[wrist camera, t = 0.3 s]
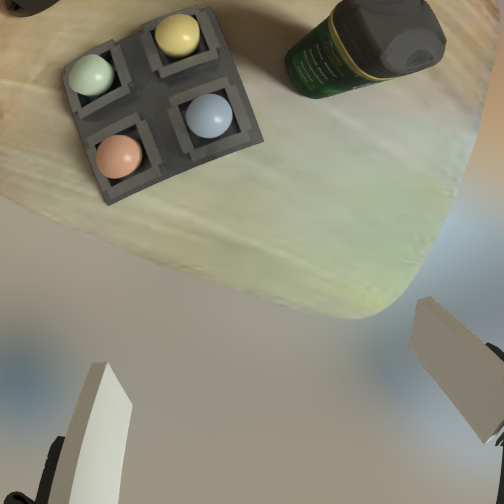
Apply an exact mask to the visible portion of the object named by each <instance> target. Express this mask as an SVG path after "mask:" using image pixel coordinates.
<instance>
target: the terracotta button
mask: <svg viewBox="0 0 504 504" xmlns="http://www.w3.org/2000/svg"><path fill="white" fill-rule="evenodd" d="M142 158H143V151H142V147H141V145H140V143H139V142H138V141H137V140H136V139H135V138H133V137H131V136H125V135H113V136H110V137H108V138H106V139H105V140H103V141H102V143H101V144H100V145H99V147H98V149H97V152H96V164H97V167H98V169H99V170H100V172H101V173H102V174H103V175H105V176H106V177H109V178H121V177H123V176H126V175H128V174H131V173H133V172H134V171H135V170H136V169H137V168H138V167H139V166H140V164H141V162H142Z"/></svg>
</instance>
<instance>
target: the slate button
mask: <svg viewBox="0 0 504 504" xmlns="http://www.w3.org/2000/svg"><path fill="white" fill-rule="evenodd" d="M186 120H187V124H188V126H189V128H190V129H191V130H192V131H193V132H194V133H195V134H196V135H198V136H200V137H202V138H215V137H218V136H220V135H221V134H223V133H224V132H225V131H226V130H227V128H228V127H229V125H230V123H231V121H232V109H231V107H230V105H229V103H228V102H227V101H226V100H225V99H224V98H222V97H221V96H219V95H215V94H205V95H201V96H199V97H197V98H196V99H194V100H193V101H192V102H191V104H190V105H189V107H188V109H187V113H186Z"/></svg>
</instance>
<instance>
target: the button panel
mask: <svg viewBox="0 0 504 504" xmlns="http://www.w3.org/2000/svg"><path fill="white" fill-rule="evenodd" d="M176 14H185V15H188V16H191V17H192V18H194V19H195V20H196V21H197V23H198V26H199V34H200V42H199V45H198V47H197V49H196V50H195V51H194V52H193V53H191V54H190V55H188V56H186V57H182V58H172V57H169V56H167V55H165V54H164V53H163V52H162V50H161V49H160V47H159V45H158V43H157V41H156V38H155V31H156V28H157V26H158V25H159V24H160V22H161V21H163V20H164V19H165V18H167V17H169V16H172V15H176ZM142 27H143V30H142V31H140V32H138V33H135V34H133V35H131V36H129V37H127V38H124V39H122V40H120V41H118V42H115V41H114V40H113V39H111V40H109V41H107V42H105V43H103V44H102V45H100V46H98V47H96V48H94V49H92V50H91V51H89V52H87V53H85V54H84V55H82V56H80V57H79V58H77V59H75V60H74V61H72V62H70V63H69V64H67V65H66V66H64V67H65V72H63V73H62V74H61V76H62V79H63V83H64V87H65V90H66V93H67V97H68V100H69V103H70V107H71V110H72V113H73V116H74V119H75V122H76V125H77V128H78V131H79V134H80V137H81V140H82V142H83V145H84V148H85V151H86V153H87V156H88V159H89V161H90V164H91V166H92V169H93V171H94V174H95V176H96V179H97V181H98V184H99V186H100V189H101V191H102V193H103V196H104V198H105V200H106V203H107V205H108V206H110V205H112V204H114V203H116V202H118V201H120V200H122V199H124V198H126V197H128V196H130V195H132V194H134V193H136V192H139V191H141V190H143V189H145V188H147V187H150V186H152V185H154V184H156V183H158V182H161V181H163V180H165V179H168V178H170V177H172V176H175V175H177V174H179V173H182V172H184V171H187V170H189V169H191V168H194V167H196V166H199V165H201V164H204V163H206V162H209V161H212V160H214V159H217V158H219V157H222V156H225V155H227V154H230V153H233V152H236V151H238V150H241V149H244V148H247V147H250V146H253V145H256V144H259V143H261V142H264V140H263V137H262V134H261V132H260V129H259V126H258V123H257V121H256V118H255V115H254V112H253V110H252V107H251V104H250V102H249V99H248V96H247V94H246V91H245V89H244V86H243V83H242V81H241V78H240V76H239V73H238V71H237V68H236V66H235V63H234V61H233V58H232V56H231V53H230V51H229V48H228V46H227V43H226V41H225V38H224V36H223V34H222V31H221V29H220V27H219V24H218V22H217V20H216V17H215V15H214V13H213V10H212V8H211V6H210V7H206V8H203V9H200V10H199V8H198V6H197V5H196V6H193V7H189V8H186V9H183V10H180V11H177V12H174V13H172V14H169V15H166V16H163V17H161V18H158V19H156V20H153V21H151V22H148V23H146V24H143V25H142ZM91 54H92V55H98V56H100V57H101V58H103V59H104V60H105V61H107V62H108V63H109V64H110V65H111V66H112V67H113V69H114V80H113V83H112V85H111V86H110V88H109V89H108V90H107V91H106V92H105V93H103V94H102V95H100V96H97V97H88V96H86V95H83V94H80V93H77V92H75V91H73V90H72V89H71V87H70V85H69V74H70V71H71V69H72V67H73V65H74V64H75V63H76V62H77V61H78V60H79V59H81V58H82V57H84V56H87V55H91ZM205 94H215V95H219V96H221V97H222V98H224V99H225V100H226V101H227V102H228V103H229V105H230V107H231V109H232V121H231V123H230V125H229V127H228V128H227V130H226V131H225V132H224V133H223V134H221V135H220V136H218V137H215V138H202V137H200V136H198V135H196V134H195V133H194V132H193V131H192V130H191V129H190V128H189V126H188V124H187V120H186V113H187V109H188V107H189V105H190V104H191V102H192V101H193V100H194V99H196V98H197V97H199V96H201V95H205ZM113 135H125V136H131V137H133V138H135V139H136V140H137V141H138V142H139V143H140V145H141V147H142V151H143V158H142V162H141V164H140V166H139V167H138V168H137V169H136V170H135V171H134V172H133V173H131V174H128V175H126V176H123V177H121V178H109V177H106V176H105V175H103V174H102V173H101V172H100V170H99V169H98V167H97V164H96V152H97V149H98V147H99V145H100V144H101V143H102V141H103V140H105V139H106V138H108V137H110V136H113Z"/></svg>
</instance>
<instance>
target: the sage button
mask: <svg viewBox="0 0 504 504" xmlns="http://www.w3.org/2000/svg"><path fill="white" fill-rule="evenodd" d="M113 80H114V69H113V67H112V66H111V65H110V64H109V63H108V62H107V61H105V60H104V59H103V58H101V57H100V56H98V55H92V54H91V55H87V56H84V57H82V58H81V59H79V60H78V61H77V62H76V63H75V64H74V65H73V67H72V69H71V71H70V74H69V85H70V87H71V89H72V90H73V91H75V92H77V93H80V94H83V95H86V96H88V97H97V96H100V95H102V94H103V93H105V92H106V91H107V90H108V89H109V88H110V86H111V85H112V83H113Z"/></svg>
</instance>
